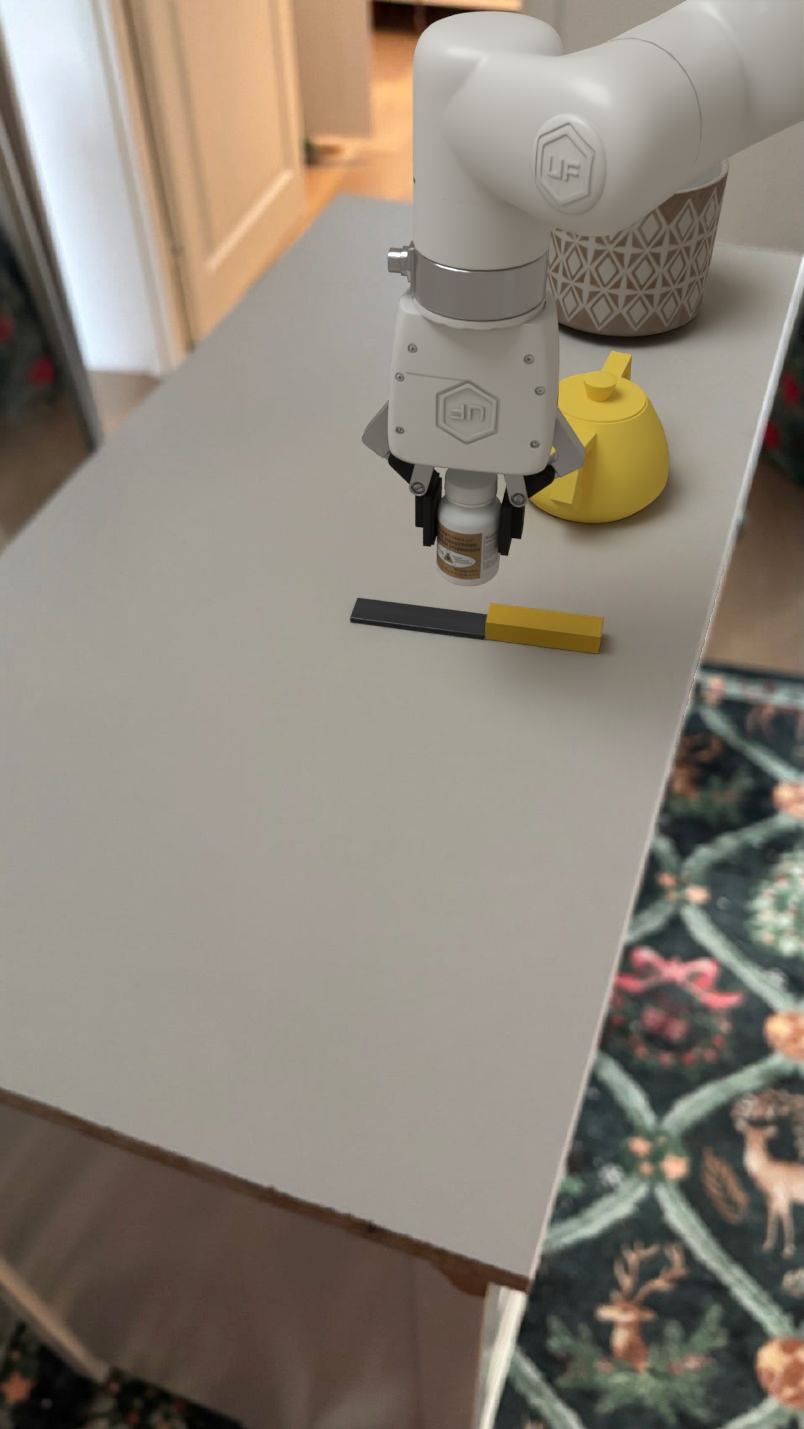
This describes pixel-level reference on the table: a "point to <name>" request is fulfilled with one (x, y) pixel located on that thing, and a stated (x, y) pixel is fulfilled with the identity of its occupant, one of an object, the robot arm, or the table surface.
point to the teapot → (608, 447)
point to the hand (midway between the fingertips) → (468, 536)
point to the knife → (488, 623)
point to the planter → (640, 265)
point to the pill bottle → (468, 528)
